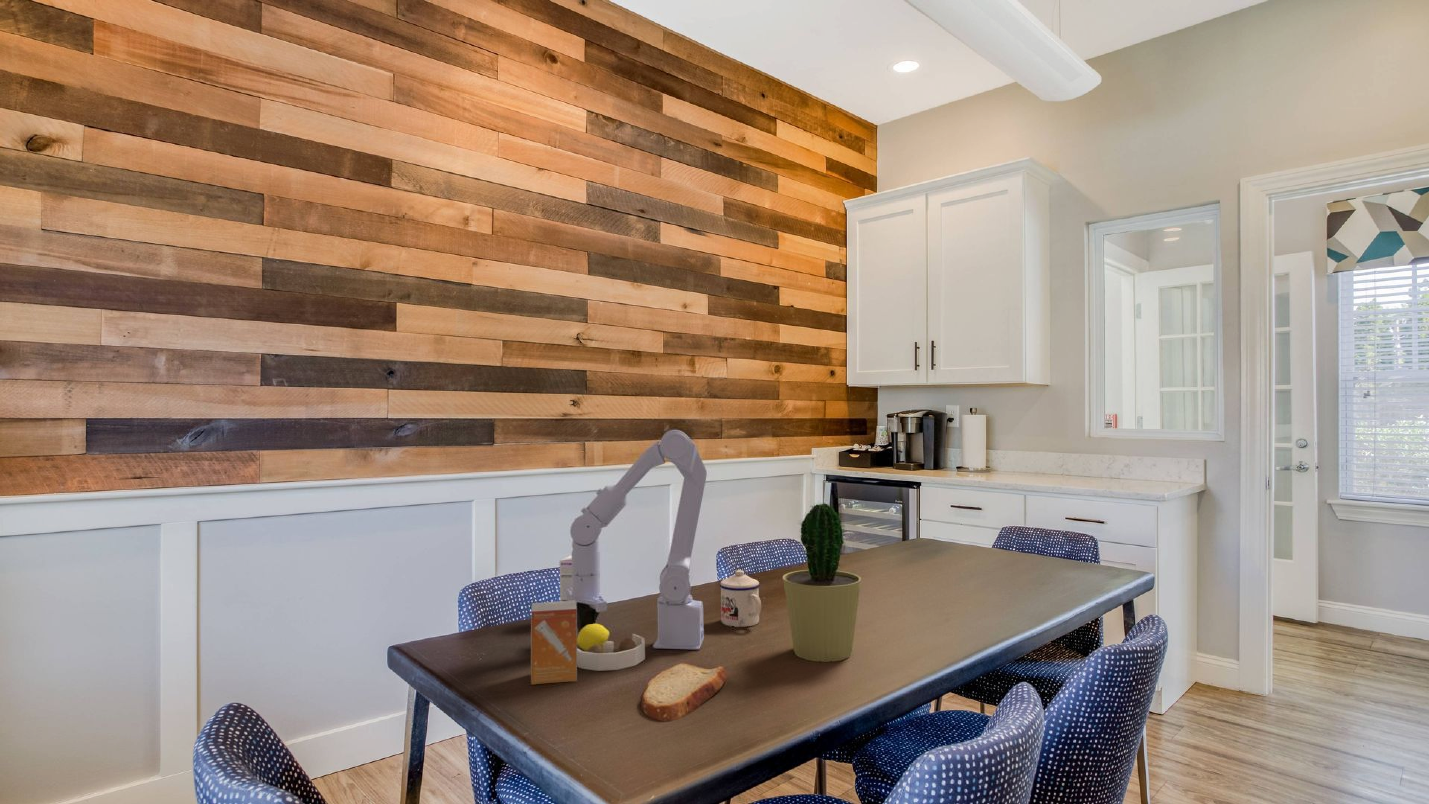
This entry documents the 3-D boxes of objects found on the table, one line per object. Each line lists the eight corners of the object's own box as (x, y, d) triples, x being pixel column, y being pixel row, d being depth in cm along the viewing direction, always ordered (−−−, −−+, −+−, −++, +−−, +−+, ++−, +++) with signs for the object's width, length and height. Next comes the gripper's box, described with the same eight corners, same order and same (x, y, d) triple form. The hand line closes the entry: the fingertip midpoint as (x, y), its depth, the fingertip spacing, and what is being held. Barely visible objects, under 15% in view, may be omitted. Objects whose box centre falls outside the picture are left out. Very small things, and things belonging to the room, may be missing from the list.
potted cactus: (815, 636, 156) (813, 494, 157) (877, 651, 145) (875, 499, 146) (767, 652, 146) (765, 500, 146) (830, 671, 135) (828, 507, 135)
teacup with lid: (712, 621, 169) (711, 570, 169) (744, 614, 174) (743, 565, 174) (743, 633, 159) (742, 579, 159) (776, 626, 164) (775, 573, 164)
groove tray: (657, 651, 147) (657, 636, 147) (621, 674, 134) (621, 657, 134) (605, 644, 152) (605, 630, 152) (565, 666, 139) (565, 650, 139)
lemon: (583, 659, 144) (580, 632, 144) (573, 651, 149) (570, 625, 148) (616, 649, 147) (613, 623, 147) (605, 641, 152) (602, 616, 152)
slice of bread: (654, 726, 112) (654, 701, 112) (620, 687, 129) (620, 666, 129) (759, 706, 120) (758, 683, 120) (714, 672, 136) (713, 651, 136)
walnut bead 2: (637, 653, 146) (637, 636, 146) (634, 659, 142) (633, 641, 142) (621, 653, 146) (620, 635, 146) (616, 658, 143) (616, 641, 143)
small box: (530, 685, 129) (530, 611, 129) (531, 673, 135) (531, 602, 135) (577, 681, 131) (577, 608, 131) (576, 669, 137) (575, 599, 137)
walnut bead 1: (606, 660, 142) (606, 643, 142) (601, 666, 138) (601, 648, 138) (589, 660, 142) (589, 642, 142) (584, 666, 139) (584, 648, 139)
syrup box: (583, 623, 167) (583, 559, 168) (559, 622, 169) (559, 559, 169) (592, 617, 173) (592, 555, 173) (569, 616, 174) (568, 554, 174)
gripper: (553, 570, 155) (552, 635, 154) (583, 582, 143) (583, 652, 143) (583, 565, 159) (583, 629, 158) (616, 577, 147) (616, 645, 147)
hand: (585, 640), depth 151 cm, fingers closed
